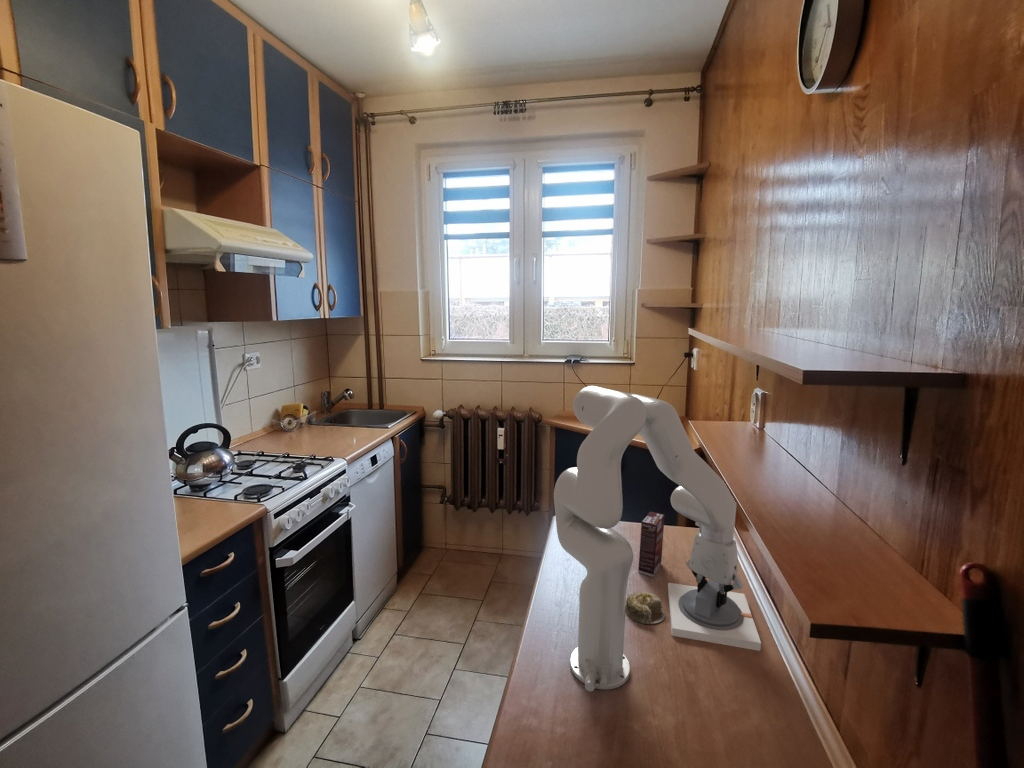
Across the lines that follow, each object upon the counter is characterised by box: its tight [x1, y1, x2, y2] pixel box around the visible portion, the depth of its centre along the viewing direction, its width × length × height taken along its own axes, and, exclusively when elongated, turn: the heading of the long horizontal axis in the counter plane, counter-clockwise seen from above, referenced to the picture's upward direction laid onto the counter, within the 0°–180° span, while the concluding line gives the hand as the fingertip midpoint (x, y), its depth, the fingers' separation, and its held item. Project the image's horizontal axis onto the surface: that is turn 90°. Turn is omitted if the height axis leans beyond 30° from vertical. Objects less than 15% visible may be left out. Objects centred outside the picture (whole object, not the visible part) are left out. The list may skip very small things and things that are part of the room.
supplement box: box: [637, 511, 665, 578], centre depth 140 cm, size 9×5×16 cm, turn 148°
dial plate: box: [667, 582, 762, 652], centre depth 119 cm, size 19×19×2 cm
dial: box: [683, 579, 740, 626], centre depth 118 cm, size 13×13×6 cm
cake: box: [625, 591, 666, 625], centre depth 121 cm, size 10×10×5 cm
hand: (711, 600), depth 119 cm, fingers closed on dial, 4 cm apart
